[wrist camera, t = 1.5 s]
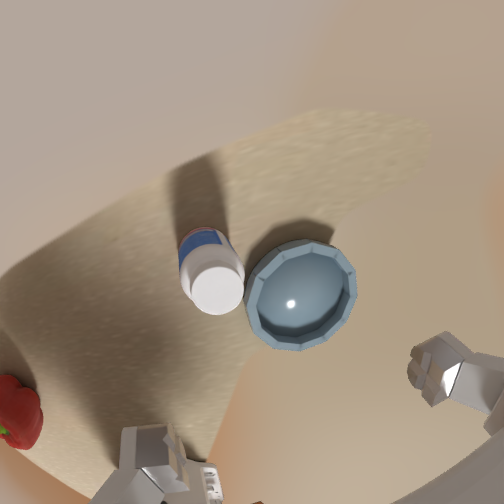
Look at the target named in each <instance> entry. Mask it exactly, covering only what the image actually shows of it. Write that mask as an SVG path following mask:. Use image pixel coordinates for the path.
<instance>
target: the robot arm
mask: <svg viewBox="0 0 504 504" xmlns="http://www.w3.org/2000/svg"><path fill="white" fill-rule="evenodd" d="M410 356H411V357H412V360H411V361H410V363H409V364H408V369H407V374H408V379H409V381H410V382H411V384H412V385H413V386H414V388H417V389H420V390H422V397H423V398H424V399H425V400H426V401H427V403H428V404H429V405H430V406H431V407H433V406H435V405H437V404H438V403H440V402H442V401H444V400H445V399H447V398H449V399H452V400H454V401H457V402H459V403H461V404H464V405H466V406H469V407H471V408H474V409H476V410H479V411H481V412H483V413H486V414H488V415H489V416H488V418H487V420H486V421H485V423H484V428H485V430H486V431H487V432H488V433H489V434H490V435H491V436H492V437H491V438H490V439H489V440H487V441H486V442H485V443H484V444H482V445H481V446H480V447H479V448H477V449H476V450H475V451H474V452H472V453H471V454H470V455H468V456H467V457H466V458H464V459H463V460H461V461H460V462H459V463H457V464H456V465H455V466H453V467H452V468H450V469H449V470H447V471H446V472H444V473H443V474H441V475H440V476H438V477H437V478H435V479H433V480H432V481H430V482H429V483H427V484H425V485H424V486H422V487H420V488H419V489H417V490H415V491H413V492H412V493H410V494H408V495H406V496H405V497H403V498H401V499H399V500H397V501H395V502H393V503H391V504H504V358H501V357H496V356H492V355H488V354H483V353H479V352H477V353H473V352H472V351H471V350H470V349H469V348H468V347H466V346H465V345H464V344H463V343H462V342H461V341H459V340H458V339H457V338H456V337H455V336H453V335H452V334H451V333H450V332H447V331H444V332H442V333H440V334H438V335H436V336H435V337H432V338H430V339H428V340H426V341H424V342H422V343H420V344H418V345H417V346H414V347H413V349H412V350H411V354H410ZM223 500H224V496H223V491H222V488H221V483H220V479H219V475H218V471H217V467H216V465H215V464H212V463H204V462H196V461H193V460H190V459H187V458H186V453H185V449H184V446H183V443H182V441H181V439H180V437H179V436H177V435H175V432H174V427H173V426H172V424H171V423H161V424H152V425H142V426H133V427H124V428H123V430H122V433H121V445H120V458H119V470H114V471H113V473H112V474H111V475H110V477H109V478H108V479H107V480H106V482H105V483H104V484H103V485H102V487H101V488H100V489H99V491H98V492H97V493H96V494H95V496H94V497H93V498H92V499H91V501H90V502H89V503H88V504H222V503H221V502H222V501H223Z"/></svg>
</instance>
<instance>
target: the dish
mask: <svg viewBox="0 0 504 504" xmlns="http://www.w3.org/2000/svg"><path fill="white" fill-rule="evenodd" d="M356 298H357V283H356V271H355V269H354V268H353V266H352V265H351V264H350V262H349V261H348V260H347V259H346V257H345V256H344V255H343V254H342V252H341V251H340V250H339V249H337V248H335V247H334V246H332V245H328V244H325V243H322V242H320V241H316V240H311V239H300V240H294V241H289V242H287V243H284V244H282V245H280V246H278V247H276V248H274V249H273V250H271V251H270V252H268V253H267V254H266V255H265V256H264V257H263V258H262V259H261V260H260V261H259V262H258V263H257V265H256V266H255V267H254V269H253V270H252V272H251V274H250V276H249V278H248V281H247V284H246V288H245V294H244V299H243V301H244V305H245V310H246V313H247V316H248V319H249V323H250V326H251V328H252V331H253V333H254V334H255V335H257V336H258V337H259V338H260V339H262V340H263V341H264V342H265V343H267V344H268V345H269V346H271V347H272V348H274V349H280V350H291V351H302V350H305V349H307V348H310V347H313V346H315V345H318V344H321V343H323V342H325V341H327V340H328V339H329V338H330V337H331V336H332V335H333V334H334V333H335V332H336V331H338V330H339V329H340V327H342V326H343V325H344V324H345V323H346V321H347V320H348V317H349V315H350V313H351V310H352V308H353V306H354V303H355V301H356Z"/></svg>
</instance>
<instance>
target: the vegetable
mask: <svg viewBox="0 0 504 504" xmlns="http://www.w3.org/2000/svg"><path fill="white" fill-rule="evenodd" d="M42 426H43V413H42V410H41V408H40V399H39V397H38V396H37V394H36V393H35V392H34V391H33V390H32V389H31V388H27V387H22V386H21V384H20V382H19V381H18V380H17V379H16V378H15V377H13V376H12V375H0V438H2V439H5V441H6V442H7V443H8V444H9V445H10V446H11V447H14V448H17V449H24V450H28V449H30V448H31V447H32V446H33V445H34V444H35V442H36V441H37V439H38V437H39V435H40V432H41V430H42Z"/></svg>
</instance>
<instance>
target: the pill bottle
mask: <svg viewBox="0 0 504 504" xmlns="http://www.w3.org/2000/svg"><path fill="white" fill-rule="evenodd" d="M178 257H179V272H180V281H181V285H182V288H183V290H184V292H185V293H186V295H187V296H188V297H189V298H190V299H191V300H192V301H193V302H194V304H195V305H196V306H197V307H198V308H199V309H200V310H201V311H203V312H205V313H208V314H212V315H220V314H225V313H227V312H230V311H231V310H233V309H234V308H235V307H236V306H237V305H238V304H239V303H240V301H241V299H242V297H243V293H244V285H243V282H244V277H245V273H244V267H243V264H242V262H241V260H240V258H239V256H238V255H237V253H236V252H235V250H234V249H233V247H232V245H231V244H230V242H229V241H228V239H227V238H226V237H225V235H224V234H222V233H221V232H220V231H218V230H216V229H214V228H210V227H200V228H196V229H194V230H192V231H190V232H189V233H188V234H187V235H186V236H185V237H184V238H183V239H182V241H181V243H180V246H179V251H178Z"/></svg>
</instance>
